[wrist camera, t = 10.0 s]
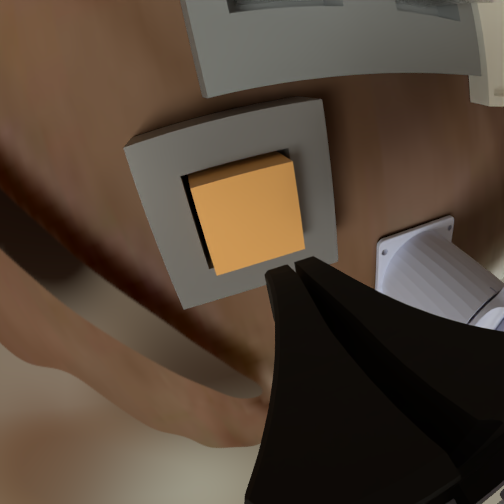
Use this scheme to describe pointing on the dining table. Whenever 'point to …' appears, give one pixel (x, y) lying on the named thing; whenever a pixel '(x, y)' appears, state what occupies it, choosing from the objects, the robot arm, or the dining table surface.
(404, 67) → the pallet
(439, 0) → the steel block
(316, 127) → the button housing
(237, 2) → the block
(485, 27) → the tray
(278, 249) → the button
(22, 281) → the dining table surface
